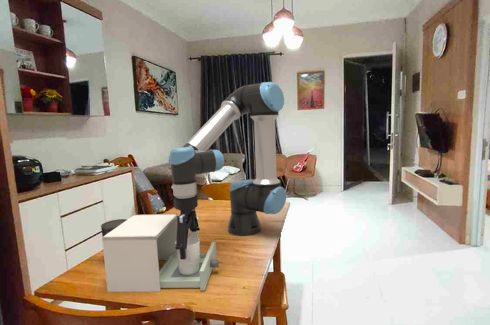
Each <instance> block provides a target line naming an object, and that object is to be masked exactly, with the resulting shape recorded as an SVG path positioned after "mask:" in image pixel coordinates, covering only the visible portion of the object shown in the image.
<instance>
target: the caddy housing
mask: <svg viewBox="0 0 490 325" xmlns="http://www.w3.org/2000/svg"><path fill="white" fill-rule="evenodd" d="M177 216H178V214H177V213H164V214H163V213H157V214H156V213H155V214H133V215H132V216H130V217H129V218H127V219H128V220H126V221H125V222H123V223H122V224H121V225H119V226H118V227H116V228H115V229H114V230H112V231H111V232H109V233H108V234H106V235H105V236H104V237H101V239H102V240H101V241H102V251H103V259H104V261H103V262H104V267H105V268H104V270H105V280H106V290H107V293H113V292H114V293H129V292H130V293H136V292H137V293H141V292H142V293H146V292H147V293H149V292H150V293H151V292H152V293H153V292H161V291H162V290H161V289H162V288H160V276H159V271H160V266H159V260H163V261H164V260H166V261H167V260H168V258H169V257H170V256H171V254H176V248H175V247H176V246H175V242H176V240H177Z"/></svg>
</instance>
